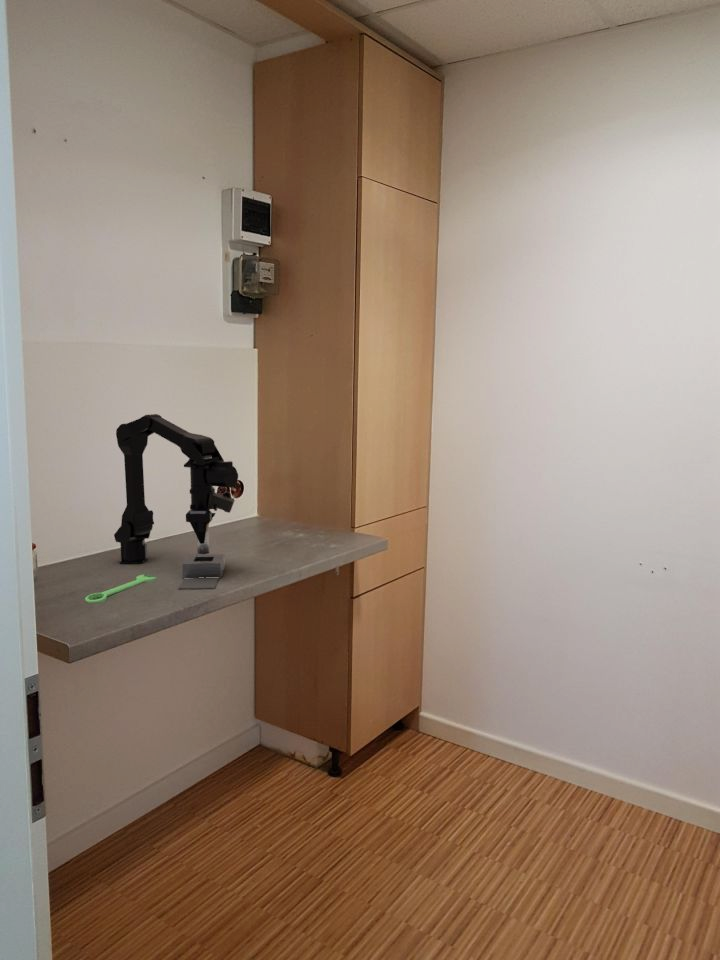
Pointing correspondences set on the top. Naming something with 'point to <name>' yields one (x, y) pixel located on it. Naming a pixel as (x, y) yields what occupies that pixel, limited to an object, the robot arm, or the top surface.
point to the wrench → (118, 588)
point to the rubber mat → (198, 583)
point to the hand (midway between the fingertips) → (203, 541)
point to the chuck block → (203, 566)
